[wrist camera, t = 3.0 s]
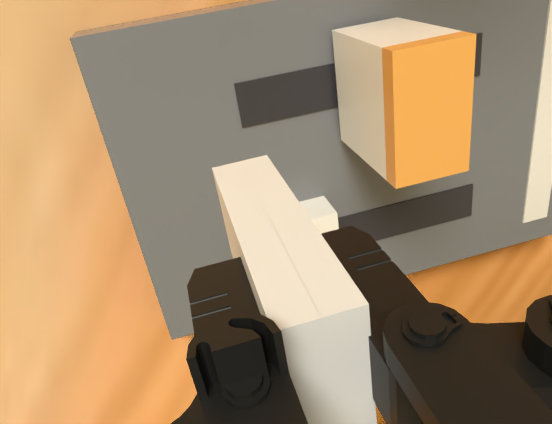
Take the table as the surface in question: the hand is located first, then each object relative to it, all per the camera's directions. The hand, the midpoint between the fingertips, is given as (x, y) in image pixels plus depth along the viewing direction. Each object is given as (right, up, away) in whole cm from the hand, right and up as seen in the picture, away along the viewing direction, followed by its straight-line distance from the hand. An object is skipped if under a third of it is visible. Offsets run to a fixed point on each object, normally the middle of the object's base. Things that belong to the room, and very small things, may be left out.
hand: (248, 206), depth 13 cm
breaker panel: (+5, +3, +13) cm, 14 cm away
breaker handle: (+5, +6, +9) cm, 12 cm away
